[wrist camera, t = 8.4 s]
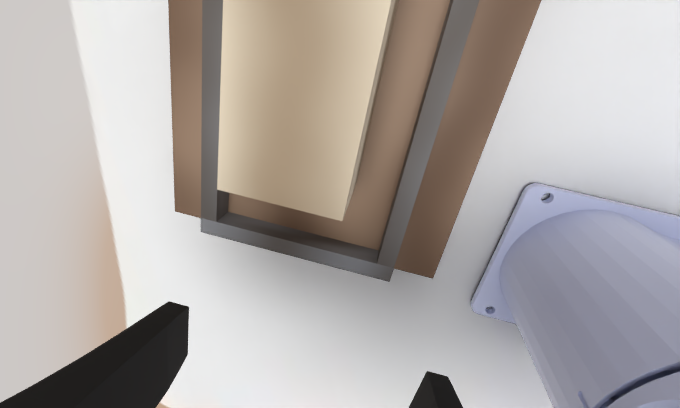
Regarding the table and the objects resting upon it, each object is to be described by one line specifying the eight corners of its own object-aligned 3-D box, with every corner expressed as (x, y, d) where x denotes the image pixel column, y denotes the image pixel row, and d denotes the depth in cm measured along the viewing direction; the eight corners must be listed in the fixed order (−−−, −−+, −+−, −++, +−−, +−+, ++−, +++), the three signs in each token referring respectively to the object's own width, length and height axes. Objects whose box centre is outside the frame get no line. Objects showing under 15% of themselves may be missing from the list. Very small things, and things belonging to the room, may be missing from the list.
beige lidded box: (406, -31, 11) (411, -107, 6) (358, 177, 15) (337, 235, 10) (288, -53, 12) (203, -143, 7) (267, 155, 15) (200, 200, 10)
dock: (554, -81, 12) (604, -128, 9) (429, 257, 18) (435, 293, 15) (196, -141, 13) (137, -201, 10) (196, 197, 19) (159, 221, 16)
